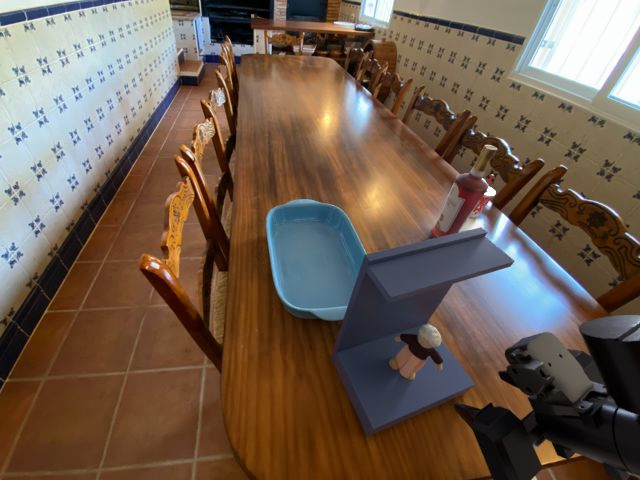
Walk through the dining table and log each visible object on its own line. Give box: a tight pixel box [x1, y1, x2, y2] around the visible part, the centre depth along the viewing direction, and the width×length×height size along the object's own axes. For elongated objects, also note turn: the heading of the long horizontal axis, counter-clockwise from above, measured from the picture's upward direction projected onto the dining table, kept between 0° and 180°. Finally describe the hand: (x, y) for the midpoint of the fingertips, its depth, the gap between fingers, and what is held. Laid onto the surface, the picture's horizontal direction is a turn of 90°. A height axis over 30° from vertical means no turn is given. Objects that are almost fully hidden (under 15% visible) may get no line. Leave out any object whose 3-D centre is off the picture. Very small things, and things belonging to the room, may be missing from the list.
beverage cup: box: [469, 174, 497, 218], centre depth 90 cm, size 6×6×14 cm
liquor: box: [430, 144, 498, 238], centre depth 75 cm, size 7×7×28 cm
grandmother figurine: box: [389, 323, 443, 380], centre depth 47 cm, size 8×4×13 cm, turn 61°
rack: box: [330, 226, 515, 438], centre depth 45 cm, size 13×20×28 cm, turn 110°
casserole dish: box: [265, 198, 368, 322], centre depth 70 cm, size 37×22×7 cm, turn 9°
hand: (478, 390), depth 40 cm, fingers open, 9 cm apart
